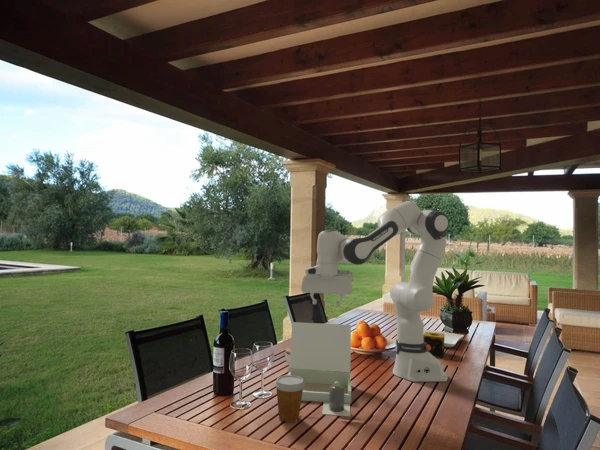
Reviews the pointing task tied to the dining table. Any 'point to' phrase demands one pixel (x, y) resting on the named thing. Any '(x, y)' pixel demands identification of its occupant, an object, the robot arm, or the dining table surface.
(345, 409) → the stone tile
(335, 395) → the nursery pot
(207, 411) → the dining table surface
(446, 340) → the square plate
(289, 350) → the lidded jar
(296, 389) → the disposable coffee cup
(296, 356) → the pale grey-green hollow box
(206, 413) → the dining table surface
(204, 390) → the dining table surface
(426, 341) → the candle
